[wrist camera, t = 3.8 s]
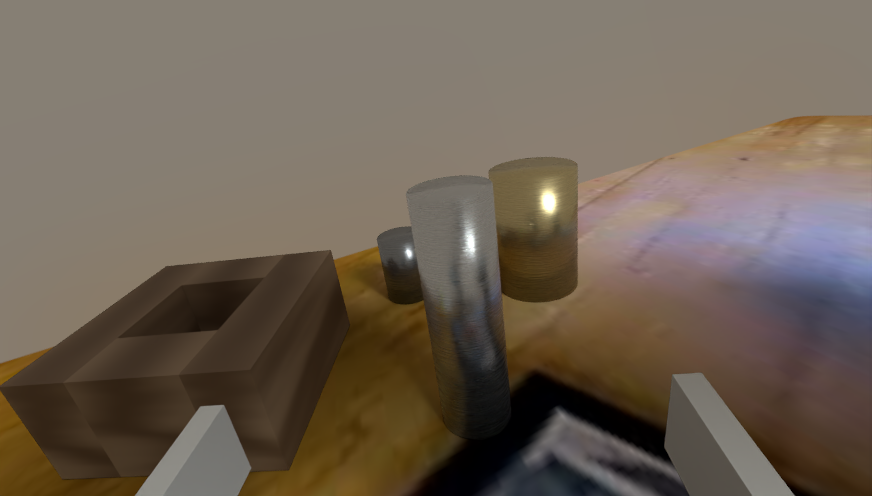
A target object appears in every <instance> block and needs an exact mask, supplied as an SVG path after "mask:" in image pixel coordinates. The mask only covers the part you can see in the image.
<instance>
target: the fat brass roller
mask: <svg viewBox="0 0 872 496" xmlns="http://www.w3.org/2000/svg"><path fill="white" fill-rule="evenodd" d="M577 169H578V168H577V163H576V162H574V161H572V160H568V159H564V158H555V157H536V158H525V159H519V160H514V161H509V162H505V163H502V164H499V165H496V166H494V167H493V168H491V169H490V170H489V180H491V181H492V183H493V195H494V207H495V219H496V231H497V244H498V256H499V268H500V280H501V291H502V292H503V293H504V294H505V295H507V296H508V297H511V298H513V299H516V300H520V301H525V302H548V301H554V300H558V299H561V298H563V297H566V296H568V295H569V294H571V293H572V292H573V291H574V290H575V289H576V287H577V284H578V182H577V179H578V176H577V174H578V171H577Z"/></svg>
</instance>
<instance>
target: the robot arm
mask: <svg viewBox="0 0 872 496" xmlns="http://www.w3.org/2000/svg"><path fill="white" fill-rule="evenodd" d="M664 447H665V449H666V451H667V453H668V455H669V457H670V459H671V461H672V463H673V465H674V466H675V468H676V470H677V472H678V474H679V476H680V478H681V480H682V482H683V484H684V486H685V488H686V490H687V492H688V493H689V495H690V496H794V494H793V493H792V492H791V490H790V489H789V488H788V486H787V485H786V484H785V482H784V481H783V480H782V478H781V477H780V476H779V474H778V473H777V472H776V470H775V469H774V468H773V466H772V465H771V464H770V462H769V461H768V460H767V458H766V457H765V456H764V454H763V453H762V452H761V451H760V449H759V448H758V447H757V445H756V444H755V443H754V441H753V440H752V439H751V437H750V436H749V435H748V433H747V432H746V431H745V429H744V428H743V427H742V425H741V424H740V423H739V421H738V420H737V419H736V417H735V416H734V415H733V413H732V412H731V411H730V410H729V408H728V407H727V406H726V404H725V403H724V402H723V400H722V399H721V398H720V396H719V395H718V394H717V392H716V391H715V390H714V388H713V387H712V386H711V384H710V383H709V382H708V380H707V379H706V378H705V376H704V375H703V374H702V373H688V374H673V375H672V382H671V391H670V400H669V409H668V418H667V427H666V436H665V445H664ZM250 470H251V466H250V464H249V461H248V459H247V457H246V455H245V452H244V450H243V448H242V445H241V443H240V441H239V438H238V436H237V434H236V432H235V429H234V427H233V425H232V422H231V420H230V418H229V415H228V413H227V411H226V409H225V406H224V405H214V406H200V408H199V409H198V410H197V412H196V413H195V415H194V416H193V417H192V419H191V420H190V421H189V423H188V424H187V425H186V427H185V428H184V430H183V431H182V432H181V434H180V435H179V436H178V438H177V439H176V440H175V442H174V443H173V445H172V446H171V447H170V449H169V450H168V451H167V453H166V454H165V455H164V457H163V458H162V459H161V461H160V462H159V464H158V465H157V466H156V468H155V469H154V470H153V472H152V473H151V474H150V476H149V477H148V479H147V480H146V481H145V483H144V484H143V485H142V487H141V488H140V489H139V491H138V492H137V494H136V495H135V496H238V494H239V492H240V490H241V488H242V486H243V484H244V482H245V480H246V478H247V476H248V474H249V472H250Z"/></svg>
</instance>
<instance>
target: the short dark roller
mask: <svg viewBox="0 0 872 496" xmlns="http://www.w3.org/2000/svg"><path fill="white" fill-rule="evenodd" d="M377 242H378V247H379V252H380V257H381V262H382V267H383V271H384V276H385V281H386V286H387V291H388V296H389V299H390V300H391V301H392V302H394V303H397V304H413V303H417V302H420V301H422V300H424V299H423V293H422V287H421V281H420V275H419V269H418V263H417V257H416V251H415V245H414V239H413V233H412V227H399V228H394V229H390V230H388V231H385V232H383V233H382V234H380V235H379V236H378V238H377Z"/></svg>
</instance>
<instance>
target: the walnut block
mask: <svg viewBox="0 0 872 496" xmlns="http://www.w3.org/2000/svg"><path fill="white" fill-rule="evenodd" d="M349 326H350V323H349V319H348V315H347V311H346V307H345V303H344V300H343V296H342V292H341V288H340V284H339V280H338V276H337V272H336V268H335V264H334V260H333V257H332V253H331V250H327V251H317V252H307V253H298V254H287V255H277V256H266V257H256V258H247V259H236V260H226V261H217V262H206V263H197V264H186V265H175V266H166V267H165V268H163V269H162V270H161V271H159V272H158V273H156V274H155V275H154V276H152V277H151V278H149V279H148V280H147V281H145V282H144V283H142V284H141V285H140V286H138V287H137V288H136V289H134V290H133V291H131V292H130V293H129V294H127V295H126V296H124V297H123V298H122V299H120V300H119V301H118V302H116V303H115V304H113V305H112V306H110V307H109V308H108V309H106V310H105V311H104V312H102V313H101V314H99V315H98V316H97V317H95V318H94V319H92V320H91V321H90V322H88V323H87V324H85V325H84V326H83V327H81V328H80V329H78V330H77V331H76V332H74V333H73V334H72V335H70V336H69V337H67V338H66V339H65V340H63V341H62V342H60V343H59V344H58V345H56V346H55V347H53V348H52V349H51V350H49V351H48V352H47V353H45V354H44V355H42V356H41V357H40V358H38V359H37V360H35V361H34V362H33V363H31V364H30V365H28V366H27V367H26V368H24V369H23V370H21V371H20V372H19V373H17V374H16V375H15V376H13V377H12V378H10V379H9V380H8V381H6V382H5V383H3V384H2V385H1V386H0V391H1V392H2V393H3V395H4V396H5V398H6V399H7V401H8V402H9V403H10V405H11V406H12V408H13V409H14V411H15V412H16V413H17V415H18V416H19V418H20V419H21V421H22V422H23V424H24V425H25V426H26V428H27V429H28V431H29V432H30V434H31V435H32V436H33V438H34V439H35V441H36V442H37V444H38V445H39V446H40V448H41V449H42V451H43V452H44V454H45V455H46V456H47V458H48V459H49V461H50V462H51V464H52V465H53V467H54V468H55V469H56V471H57V472H58V474H59V475H60V477H61V478H62V479H85V478H109V477H133V476H150V474H151V473H152V472H153V470H154V469H155V468H156V466H157V465H158V464H159V462H160V461H161V459H162V458H163V457H164V455H165V454H166V453H167V451H168V450H169V449H170V447H171V446H172V445H173V443H174V442H175V440H176V439H177V438H178V436H179V435H180V434H181V432H182V431H183V430H184V428H185V427H186V425H187V424H188V423H189V421H190V420H191V419H192V417H193V416H194V415H195V413H196V412H197V410H198V409H199V408H200V406H214V405H224V406H225V409H226V411H227V413H228V415H229V418H230V420H231V422H232V425H233V427H234V429H235V432H236V434H237V436H238V438H239V441H240V443H241V445H242V448H243V450H244V452H245V455H246V457H247V459H248V461H249V464H250V466H251V470H250V472H253V471H277V470H289V468H290V466H291V464H292V461H293V459H294V457H295V454H296V452H297V449H298V447H299V445H300V442H301V440H302V437H303V435H304V433H305V430H306V428H307V426H308V423H309V421H310V418H311V416H312V414H313V411H314V409H315V407H316V404H317V402H318V399H319V397H320V395H321V392H322V390H323V388H324V385H325V383H326V380H327V378H328V376H329V373H330V371H331V368H332V366H333V364H334V361H335V359H336V357H337V354H338V352H339V349H340V347H341V345H342V342H343V340H344V338H345V335H346V333H347V330H348V328H349Z"/></svg>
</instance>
